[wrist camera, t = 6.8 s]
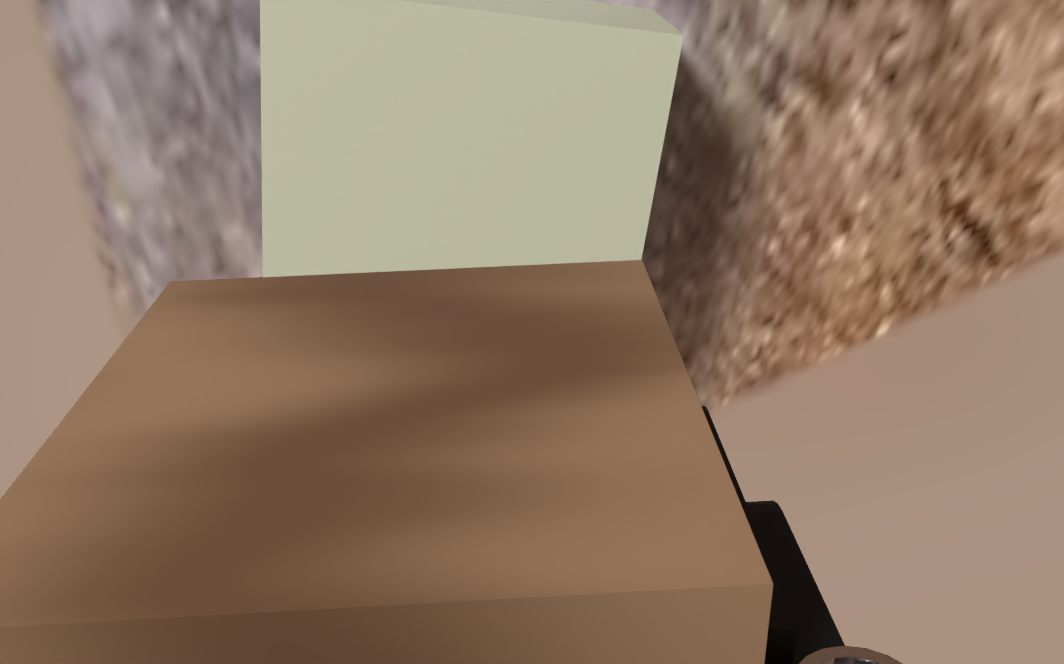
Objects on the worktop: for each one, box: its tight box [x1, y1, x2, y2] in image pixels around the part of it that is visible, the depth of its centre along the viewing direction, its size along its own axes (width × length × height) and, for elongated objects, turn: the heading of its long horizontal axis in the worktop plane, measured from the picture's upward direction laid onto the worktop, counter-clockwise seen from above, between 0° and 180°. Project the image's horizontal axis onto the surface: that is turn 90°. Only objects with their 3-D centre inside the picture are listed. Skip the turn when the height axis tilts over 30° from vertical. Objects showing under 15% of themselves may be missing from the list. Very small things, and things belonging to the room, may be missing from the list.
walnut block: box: [0, 260, 773, 664], centre depth 10 cm, size 6×6×6 cm
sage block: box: [260, 0, 684, 277], centre depth 26 cm, size 10×10×5 cm
